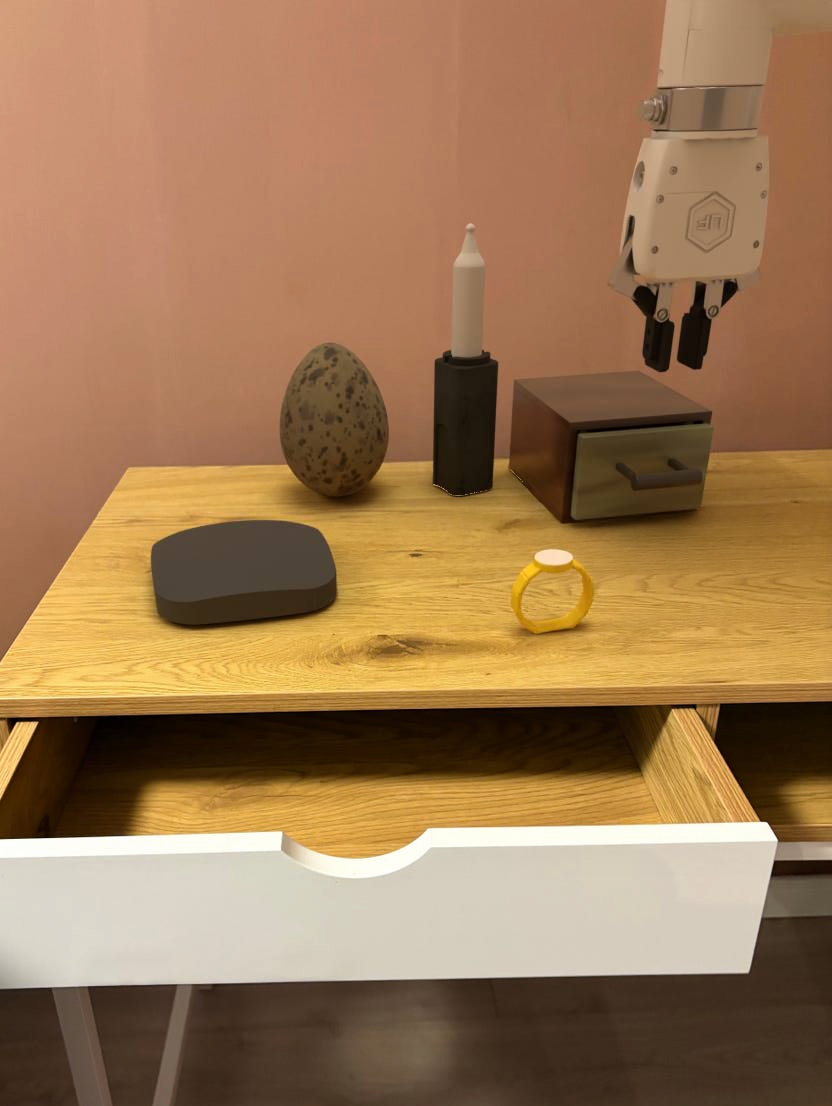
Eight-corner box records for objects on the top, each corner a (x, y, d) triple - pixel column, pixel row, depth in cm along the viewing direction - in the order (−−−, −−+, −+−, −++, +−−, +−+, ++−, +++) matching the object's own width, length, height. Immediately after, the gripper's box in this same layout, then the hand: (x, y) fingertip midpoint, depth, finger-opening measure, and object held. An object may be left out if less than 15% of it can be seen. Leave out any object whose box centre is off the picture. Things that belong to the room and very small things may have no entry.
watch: (580, 615, 75) (587, 544, 72) (594, 632, 72) (602, 559, 69) (505, 624, 74) (509, 552, 71) (517, 641, 71) (522, 568, 69)
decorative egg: (266, 488, 101) (255, 340, 94) (357, 469, 105) (354, 326, 98) (312, 521, 93) (304, 362, 85) (409, 499, 97) (409, 346, 90)
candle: (428, 483, 101) (431, 223, 89) (469, 474, 103) (478, 219, 91) (454, 498, 97) (462, 228, 85) (497, 489, 99) (510, 223, 87)
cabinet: (697, 510, 93) (712, 411, 88) (561, 523, 91) (569, 422, 86) (628, 458, 106) (638, 370, 101) (508, 469, 104) (513, 379, 100)
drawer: (728, 528, 87) (743, 443, 83) (596, 541, 85) (605, 455, 81) (635, 459, 103) (643, 386, 99) (523, 469, 101) (527, 394, 98)
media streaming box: (156, 634, 74) (152, 599, 72) (153, 557, 86) (149, 526, 85) (346, 613, 76) (344, 578, 75) (315, 541, 89) (314, 510, 87)
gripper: (625, 120, 67) (598, 385, 76) (835, 112, 70) (786, 371, 79) (583, 118, 74) (564, 363, 83) (777, 112, 76) (738, 351, 85)
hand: (672, 365), depth 81 cm, fingers closed
